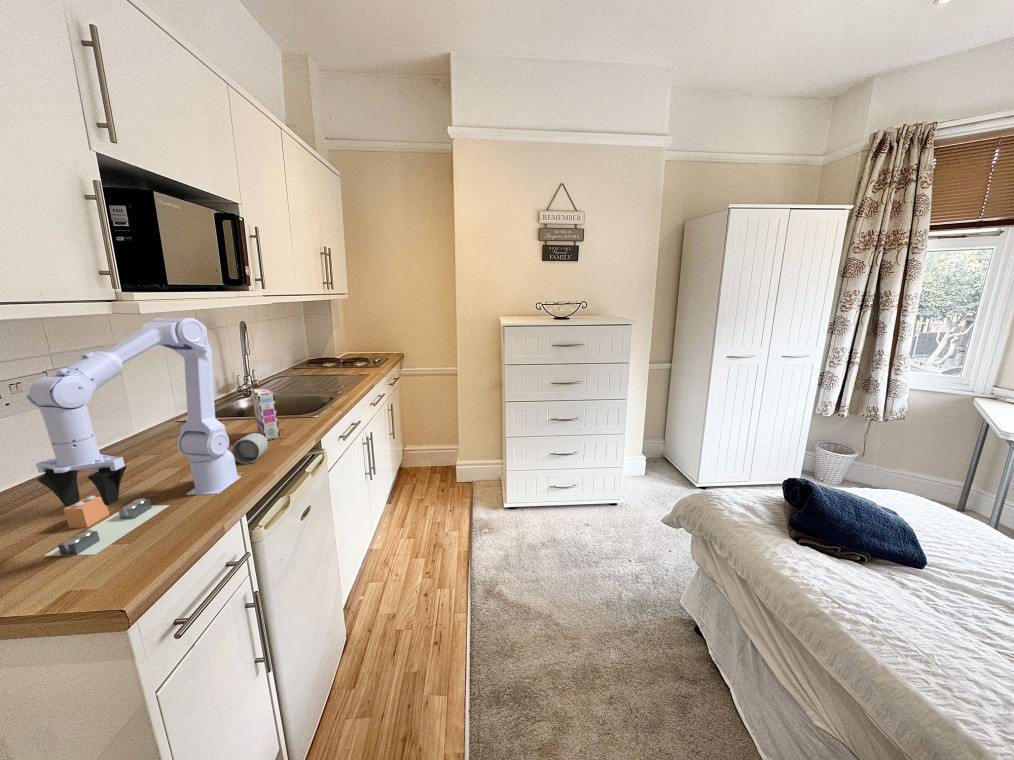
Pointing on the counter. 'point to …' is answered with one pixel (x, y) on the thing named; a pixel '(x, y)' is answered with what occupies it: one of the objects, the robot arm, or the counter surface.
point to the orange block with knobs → (86, 512)
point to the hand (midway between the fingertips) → (92, 503)
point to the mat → (114, 530)
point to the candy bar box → (265, 413)
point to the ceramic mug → (249, 448)
